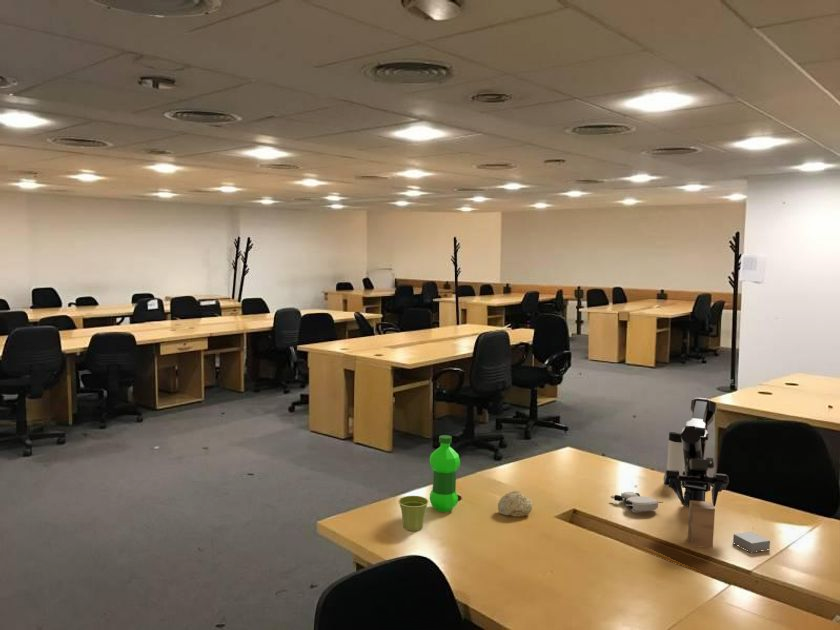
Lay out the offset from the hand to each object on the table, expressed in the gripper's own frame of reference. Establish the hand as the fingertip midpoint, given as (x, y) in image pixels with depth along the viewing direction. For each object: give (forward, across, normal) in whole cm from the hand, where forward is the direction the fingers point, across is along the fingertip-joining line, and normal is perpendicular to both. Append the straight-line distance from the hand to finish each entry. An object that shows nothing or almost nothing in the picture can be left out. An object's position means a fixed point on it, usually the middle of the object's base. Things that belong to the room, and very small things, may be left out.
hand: (698, 504), depth 207 cm
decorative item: (+3, -56, +12) cm, 58 cm away
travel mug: (-30, +3, +45) cm, 54 cm away
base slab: (+10, +15, +5) cm, 19 cm away
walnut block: (+10, 0, +5) cm, 11 cm away
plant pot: (+18, -88, -2) cm, 89 cm away
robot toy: (-8, -16, +23) cm, 29 cm away
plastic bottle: (+5, -80, +10) cm, 81 cm away
